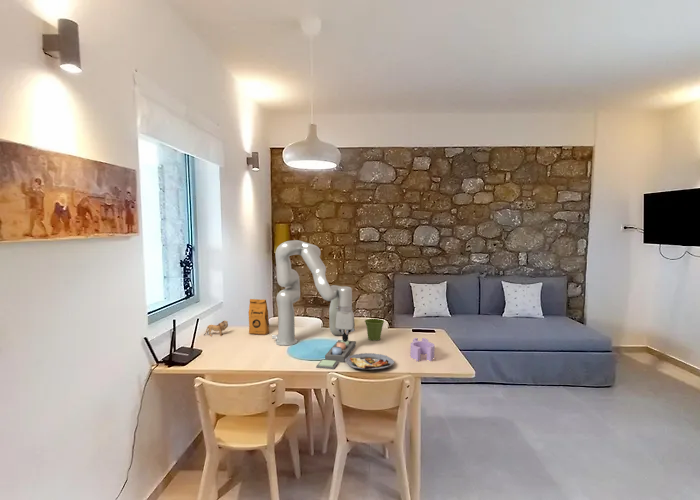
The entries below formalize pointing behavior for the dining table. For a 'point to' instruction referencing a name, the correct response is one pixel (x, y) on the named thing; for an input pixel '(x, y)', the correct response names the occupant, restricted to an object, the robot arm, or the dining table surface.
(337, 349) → the slate button
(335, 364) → the card
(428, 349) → the clip
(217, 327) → the lion figurine
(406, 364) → the dining table surface
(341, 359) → the button panel
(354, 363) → the food plate
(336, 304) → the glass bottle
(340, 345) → the peach rounded dome
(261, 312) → the coffee package
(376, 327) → the plant pot
